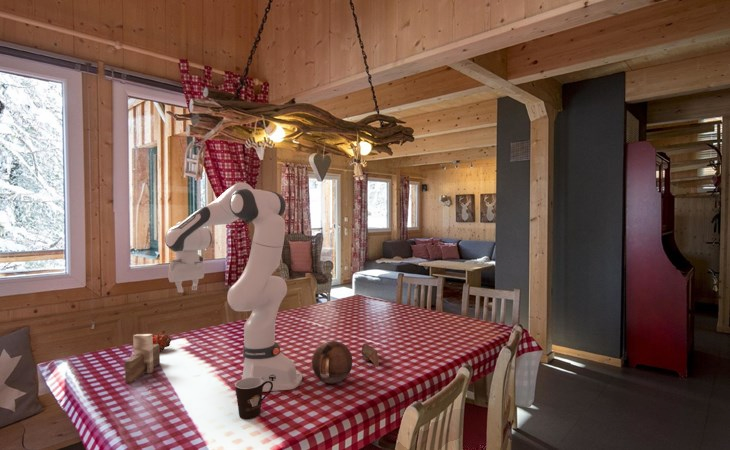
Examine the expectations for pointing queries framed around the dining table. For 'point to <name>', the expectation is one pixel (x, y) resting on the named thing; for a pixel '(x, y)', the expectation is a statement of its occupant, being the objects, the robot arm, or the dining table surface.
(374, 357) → the bird sculpture
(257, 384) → the coffee mug
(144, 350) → the ash slotted plate
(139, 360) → the walnut slotted plate
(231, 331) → the dining table surface
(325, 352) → the wooden sphere
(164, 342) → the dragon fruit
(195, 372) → the dining table surface
